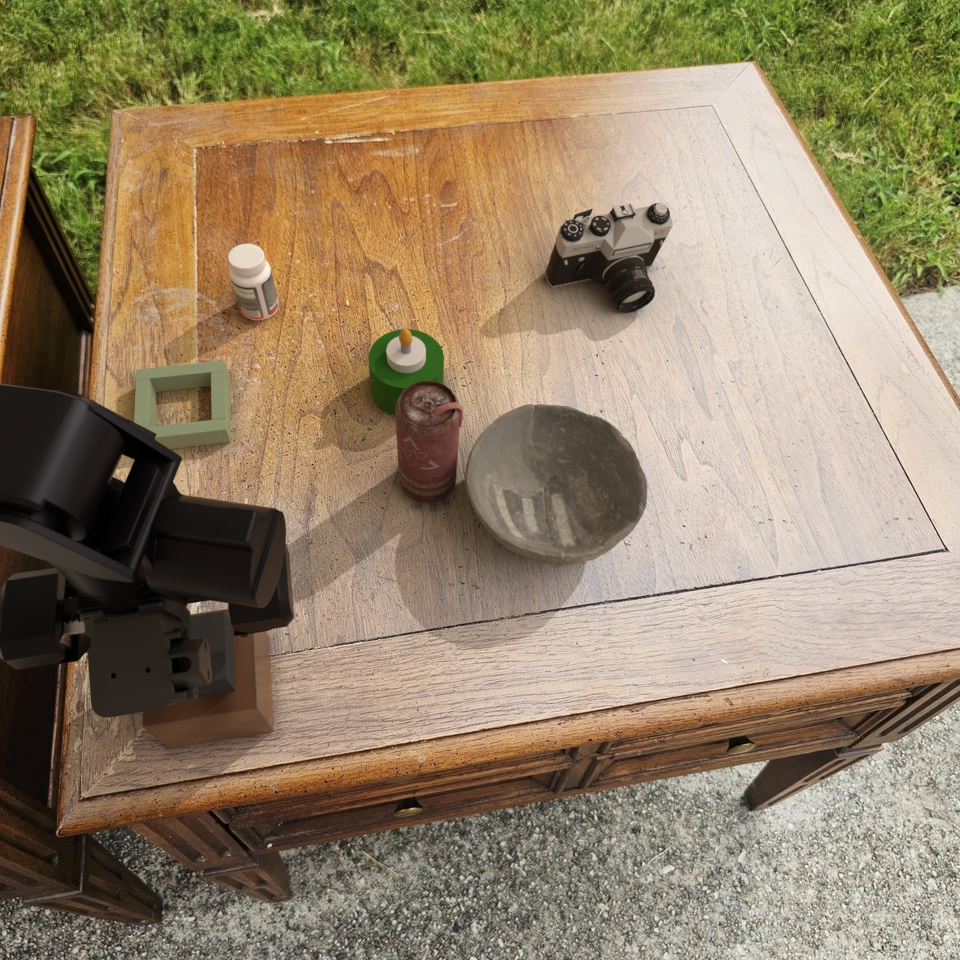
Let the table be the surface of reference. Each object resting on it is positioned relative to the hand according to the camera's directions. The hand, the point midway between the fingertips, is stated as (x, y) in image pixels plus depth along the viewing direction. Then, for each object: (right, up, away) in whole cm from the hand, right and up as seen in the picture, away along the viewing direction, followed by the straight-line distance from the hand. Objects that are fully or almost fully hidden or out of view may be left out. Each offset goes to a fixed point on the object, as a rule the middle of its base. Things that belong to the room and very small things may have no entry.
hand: (184, 641), depth 61 cm
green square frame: (-10, +20, +27) cm, 35 cm away
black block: (0, -3, +4) cm, 5 cm away
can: (+17, +12, +24) cm, 32 cm away
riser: (-1, -7, +11) cm, 13 cm away
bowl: (+30, +9, +23) cm, 39 cm away
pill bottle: (-4, +33, +35) cm, 49 cm away
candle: (+15, +23, +30) cm, 41 cm away
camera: (+40, +37, +40) cm, 67 cm away
